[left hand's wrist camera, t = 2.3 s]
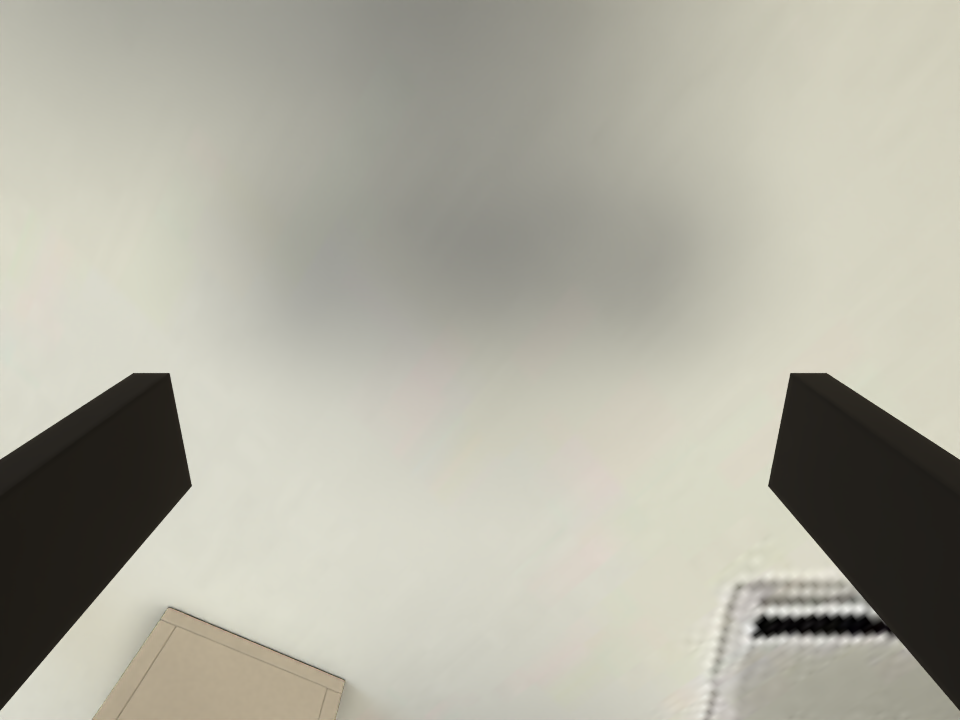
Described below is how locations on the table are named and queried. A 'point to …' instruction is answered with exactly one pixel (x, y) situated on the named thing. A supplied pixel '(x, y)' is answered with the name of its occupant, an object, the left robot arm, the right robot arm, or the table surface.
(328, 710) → the chest
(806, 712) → the table surface
